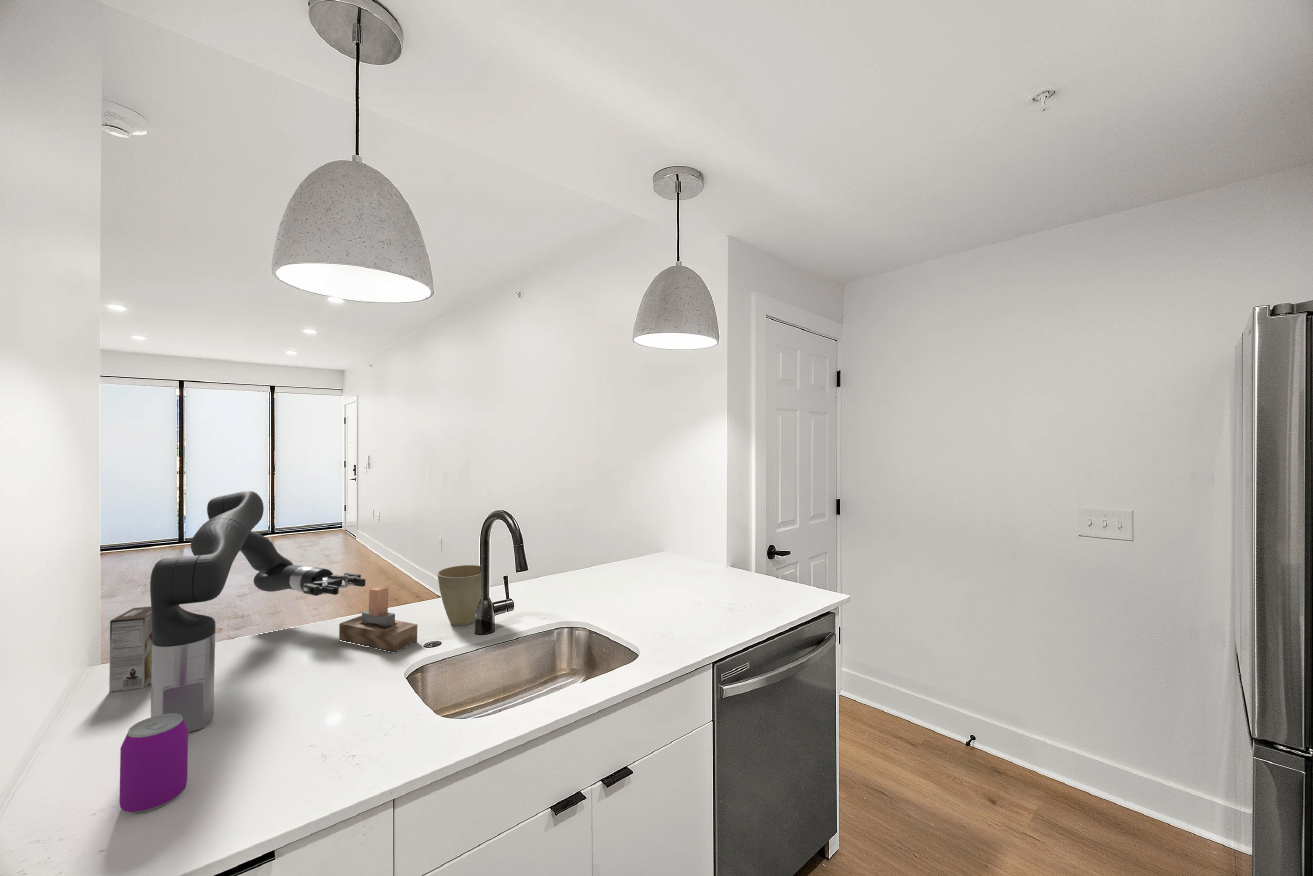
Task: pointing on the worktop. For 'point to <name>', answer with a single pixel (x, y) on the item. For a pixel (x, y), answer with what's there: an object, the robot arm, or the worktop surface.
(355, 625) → the slotted block
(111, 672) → the coffee box
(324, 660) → the worktop surface
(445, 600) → the plant pot
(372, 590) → the block on stand
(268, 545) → the robot arm
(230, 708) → the worktop surface
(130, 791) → the beverage can
